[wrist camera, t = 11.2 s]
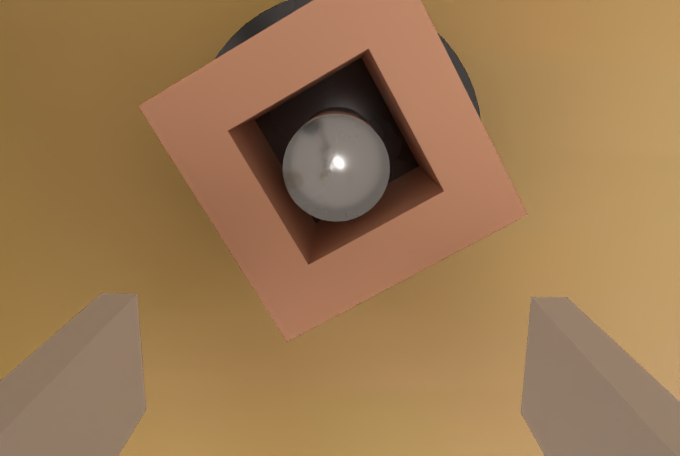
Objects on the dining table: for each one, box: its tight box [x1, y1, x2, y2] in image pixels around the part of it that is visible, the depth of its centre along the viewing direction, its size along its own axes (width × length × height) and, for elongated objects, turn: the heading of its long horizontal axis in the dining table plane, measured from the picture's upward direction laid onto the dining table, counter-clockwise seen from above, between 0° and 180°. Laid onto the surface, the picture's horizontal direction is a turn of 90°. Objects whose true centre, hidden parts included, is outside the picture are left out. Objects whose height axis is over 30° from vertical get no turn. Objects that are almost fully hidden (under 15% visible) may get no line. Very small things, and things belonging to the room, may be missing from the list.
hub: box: [215, 0, 481, 223], centre depth 22 cm, size 12×12×10 cm
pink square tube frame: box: [138, 0, 528, 342], centre depth 21 cm, size 9×9×6 cm
